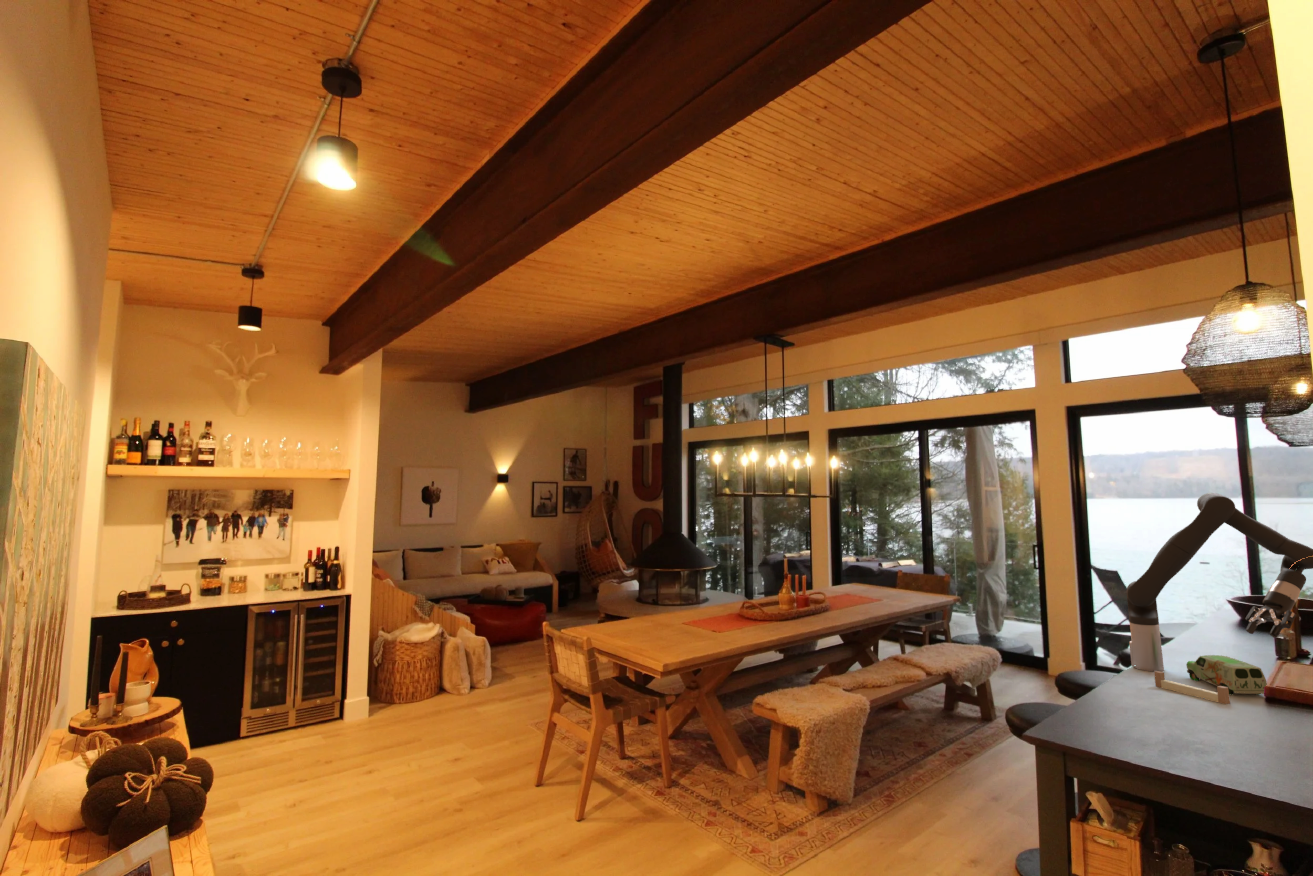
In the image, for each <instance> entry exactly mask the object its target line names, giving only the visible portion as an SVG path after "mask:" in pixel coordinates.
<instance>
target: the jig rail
mask: <svg viewBox="0 0 1313 876" xmlns="http://www.w3.org/2000/svg"><path fill="white" fill-rule="evenodd" d="M1153 672H1154V673H1153V675H1154V680H1155V681H1154V683H1155V687H1157V688H1162V689H1164V690H1169V691H1173V692H1177V693H1180V694H1185V695H1188V696H1192V697H1197V698H1200V697H1201V698H1200V699H1203V698H1205V699H1204V700H1206V701H1207V700H1208V701H1212V702H1216V703H1219V704H1223V705H1229V704H1231V700H1230V694H1229V690H1228V687H1224V686H1216V690H1217V692H1215V691H1213V690H1208V689H1203V688H1200V687H1198V686H1197V687H1196V686H1191V685H1188V684H1183V683H1180V682H1175V681H1171V680H1167V679H1165V678H1166V677H1165V672H1164V671H1153Z"/></svg>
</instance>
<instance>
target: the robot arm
mask: <svg viewBox="0 0 1313 876" xmlns="http://www.w3.org/2000/svg"><path fill="white" fill-rule="evenodd" d="M1196 507H1197V508H1198V510H1199V513H1198V514H1197V516H1196V517H1195V518H1194V519H1193V521H1191V523H1189V524H1188V525H1186V526H1185V527H1183V528H1182V529H1181V530H1179V531H1178V532H1176V533H1174V534H1173V535H1171V537H1169V539H1168V540H1167V541H1166V542H1165V543H1164V544H1163V546H1162V547H1161V548H1160V550H1158V552H1157V554H1156V555H1155V556H1154V558H1153V560H1152V562H1151V563H1150V565H1149V567H1148V569H1147V570H1146V571H1145V572H1144V573H1143V574H1142V575H1141V576H1140V577H1139V578H1138V579H1137V580H1135V581H1132V582H1131V583H1128V585H1127V587H1126V601H1127V608H1128V609H1127V610H1128V612H1127V613H1128V619H1129V629H1130V637H1131V639H1130V640H1129V642H1128V643H1129V653H1130V661H1131V662H1130V663H1131V664H1130V665H1131V667H1133V666H1134V665H1136V666H1134V667H1133V668H1135V669H1138V670H1141V671H1147V672H1155V671H1160V672H1164V670H1165V666H1164V658H1163V650H1162V649H1163V648H1162V638H1161V631H1160V620H1159V611H1158V602H1157V598H1158V596H1159V595H1160V593H1161V592H1162V591H1163V589H1164V588H1165V586H1166V585H1167V584H1168V583H1169V581H1171V580H1172V579H1173V577H1175V576H1176V575H1178V574H1179V572H1180V571H1182V569H1183V568H1184V567H1186V565H1187V564H1188V563H1189V562H1190V561H1191V559H1193V557H1194V556H1195V555H1196V554H1197V553H1198V552H1199V550H1200V549H1201V548H1202V547H1203V545H1204V544H1206V542H1207V541H1208V539H1210V537H1212V535H1213V534H1214V533H1215V532H1216V531H1217V530H1218V529H1219V528H1220V527H1221V526H1223V525H1224V524H1226V525H1228V526H1230V527H1231V528H1233V529H1234V530H1237V531H1238V532H1239V533H1241V534H1242V535H1245V536H1246V538H1249V539H1250V540H1251V541H1253V542H1254V543H1256V544H1257V545H1259V546H1261V547H1262V548H1263V549H1265V550H1268V551H1269V552H1270V553H1273V554H1274V555H1277V556H1279V555H1281V556H1283V558H1282V560H1281V564H1280V572H1279V574H1278V576H1277V577H1276V579H1275V581H1274V582H1273V583H1272V585H1271V586H1270V588H1269V589H1268V591H1267V592H1266V595H1265V596H1264V598H1263V599H1262V604H1263V605H1262V606H1261V607H1260V608H1258V607H1257V606H1256V605H1254V606H1252V607H1251V608H1250V610H1249V612H1248V613H1247V615H1246V617H1245V618H1244V619H1245V620H1246V621H1248V624H1247V626H1246V628H1245V631H1246V632H1247V633H1248V634H1251V635H1253V634H1254V633H1255V631H1256V629H1257V628H1258V625H1261V624H1265V623H1266V622H1272V623H1273V624H1274V625H1273V626H1272V628H1271V629H1270V631H1269V633H1268V634H1269V635H1270V637H1272V638H1275V639H1276V638H1278V637H1279V636H1280V634H1281V632H1282V630H1284V629H1287V630H1289V629H1291V627H1292V625H1293V623H1294V621H1295V619H1296V617H1297V614H1295V612H1293V611H1292V610H1293V608H1294V606H1295V604H1296V603H1297V602H1298V599H1299V597H1300V595H1301V591H1302V590H1303V587H1304V586H1305V585H1306V581H1307V577H1306V575H1305V574H1303V572H1304V570H1313V557H1308V556H1312V555H1313V548H1311V547H1310V546H1307V545H1305V544H1302V543H1300V542H1298V541H1295V540H1293V539H1290V538H1288V537H1286V536H1285V535H1283V534H1282V533H1280V532H1278V531H1277V530H1275V529H1273V528H1271V527H1270V526H1268V525H1265V523H1261V522H1260V521H1258V520H1257V519H1255V518H1252V517H1250V516H1249V515H1247V514H1245V513H1244V512H1242V511H1240V510H1239V509H1238V508H1236V504H1235V502H1234V501H1233V500H1232V499H1231V498H1229V497H1227V496H1226V495H1223V494H1220V493H1216V492H1215V493H1214V492H1208V493H1204V494H1202V495H1200V497H1198V499H1197V502H1196ZM1306 557H1308V558H1306ZM1302 558H1305V559H1302ZM1300 559H1302V560H1301V561H1298V560H1300ZM1296 561H1298V562H1296ZM1294 562H1296V564H1294ZM1292 564H1294V565H1293V566H1292V567H1291V565H1292ZM1298 566H1299V567H1298ZM1290 567H1291V568H1290ZM1289 568H1290V569H1289ZM1296 568H1297V570H1296V571H1295V572H1294V570H1295V569H1296ZM1292 575H1293V576H1292Z"/></svg>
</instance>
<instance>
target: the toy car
mask: <svg viewBox="0 0 1313 876" xmlns="http://www.w3.org/2000/svg"><path fill="white" fill-rule="evenodd" d="M1186 672H1187V673H1188V675H1189V678H1190V680H1192V681H1193V682H1194V681H1196V682H1199V681H1200V680H1203V681H1204V682H1207V683H1209V684H1212V685H1213V686H1216V687H1217V686H1224V687H1228V690H1229V695H1230V694H1231V696H1232V694H1233V695H1234V694H1246V695H1247V694H1249V695H1250V694H1251V695H1253V694H1254V695H1256V694H1261V695H1262V694H1264V687H1265V686H1266V685H1267V686H1268V682H1267V679H1266V676H1265V674H1264V672H1263V670H1262V668H1261V667H1259V666H1256V665H1253V664H1250V663H1248V662H1247V661H1243V660H1239V659H1236V658H1233V657H1230V656H1227V655H1215V654H1212V655H1211V654H1207V655H1199V656H1198V657H1197V659H1196V660H1194V661H1193V660H1191V661H1190V660H1188V661H1187V663H1186Z"/></svg>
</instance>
